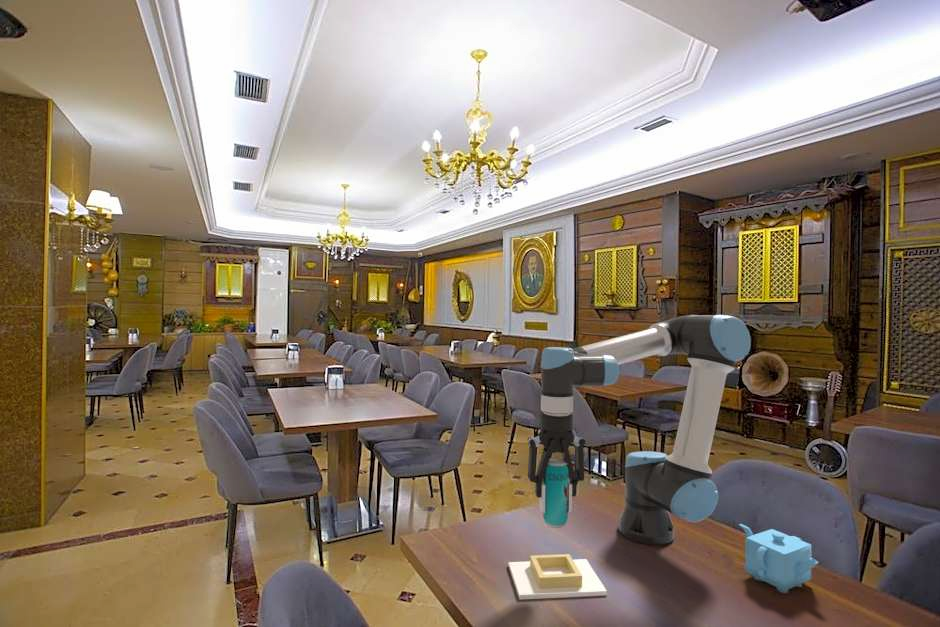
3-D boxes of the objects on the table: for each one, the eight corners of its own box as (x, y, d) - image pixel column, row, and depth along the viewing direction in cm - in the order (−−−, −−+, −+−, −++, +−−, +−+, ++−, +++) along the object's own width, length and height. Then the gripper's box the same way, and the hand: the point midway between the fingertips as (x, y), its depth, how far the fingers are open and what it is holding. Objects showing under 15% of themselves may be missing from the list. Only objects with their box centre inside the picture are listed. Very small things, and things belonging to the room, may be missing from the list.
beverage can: (567, 530, 111) (568, 465, 111) (542, 528, 112) (543, 463, 112) (567, 520, 117) (568, 458, 117) (543, 517, 118) (544, 456, 118)
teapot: (796, 609, 104) (797, 557, 104) (719, 569, 120) (720, 524, 120) (835, 590, 111) (836, 541, 111) (758, 555, 127) (759, 512, 127)
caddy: (586, 562, 122) (586, 549, 122) (606, 595, 108) (607, 579, 108) (508, 566, 120) (508, 552, 120) (519, 599, 107) (519, 583, 107)
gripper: (589, 409, 119) (588, 502, 119) (514, 409, 117) (513, 504, 117) (600, 415, 111) (599, 515, 112) (520, 416, 110) (519, 517, 110)
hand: (555, 509), depth 114 cm, fingers closed on beverage can, 6 cm apart
